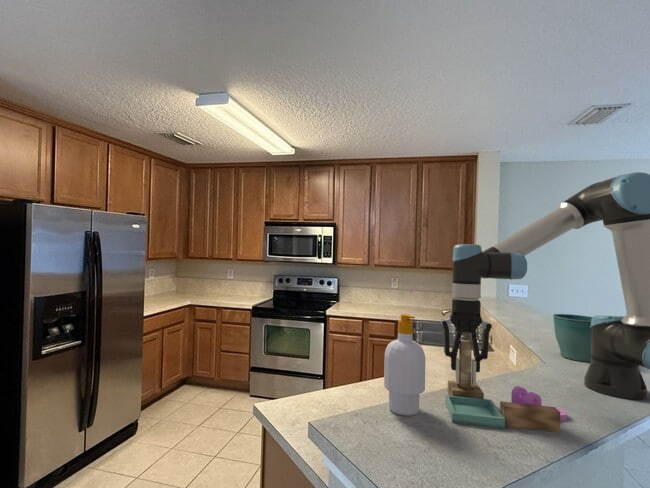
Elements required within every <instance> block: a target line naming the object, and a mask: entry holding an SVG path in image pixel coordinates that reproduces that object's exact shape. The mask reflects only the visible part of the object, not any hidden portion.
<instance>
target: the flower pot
mask: <svg viewBox="0 0 650 488" xmlns="http://www.w3.org/2000/svg"><path fill="white" fill-rule="evenodd" d="M552 317H553V325H554V334H555V339H556V341H557V345H558V348H559V350H560V355H561V357H563V358H567V359H569V360H573V361H578V362H584V363H585V362H587V363H591V328H590V326H591V319H592V317H593V316H589V315H588V316H587V315H579V314H569V313H568V314H567V313H554V314H552Z"/></svg>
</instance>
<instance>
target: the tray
mask: <svg viewBox="0 0 650 488" xmlns="http://www.w3.org/2000/svg"><path fill="white" fill-rule="evenodd" d="M444 398H445V400H444V402H445V406H446V409H447V411H448V415H449V418H450V420H451V423H452V424H453V423H455V424H462V425H471V426H480V427H487V428H496V429H506V426H505V418H504V417H503V416H502V414H501V413H500V409H499V408H498V406H496V404H495V402H494V401H493V400H492V399H490V398H488V399H487V398H484V399H480V398H471V397H461V396H451V395H448V394H445V397H444Z"/></svg>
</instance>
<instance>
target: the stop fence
mask: <svg viewBox="0 0 650 488" xmlns="http://www.w3.org/2000/svg"><path fill="white" fill-rule="evenodd" d="M550 406H551V405H542V406H540V405H530V404H521V403H511V401H510V402H509V401H500V402H499V411H500V413H501V414H502V416H503V417H504V418H505V427H512V428H519V429H529V430H538V431H547V432H553V433H554V432H555V433H561V421H560V412H559V411H558V410H557V409H556V408H555V407H556V406H553V407H550Z"/></svg>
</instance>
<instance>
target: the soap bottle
mask: <svg viewBox="0 0 650 488" xmlns="http://www.w3.org/2000/svg"><path fill="white" fill-rule="evenodd" d="M411 319H416V316H413V315H411V314H405V313H404V314H403V313H402V314H400V319H399V320H397V321H398V323H397V324H398V325H397V326H398V327H397V339H394V340H392V341H390V342H389V343H388V344H387V346H386V348H385V352H384V365H383V367H384V368H383V370H384V372H383V375H384V376H383V385H384V389H386V390H387V391H388V408H389V410H390V411H392V413H394V414H395V415H396V414H397V415H401V416H404V417H405V416H408V417H409V416H414V415H416V414H418V412H419V411H420V394H423V393H424V392H425V390H426V354H425V351H424V349H423V347H422V346H421V345H420V344H419V343H418V342H416V341H415V340H413V326H414V325H413V320H411Z"/></svg>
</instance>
